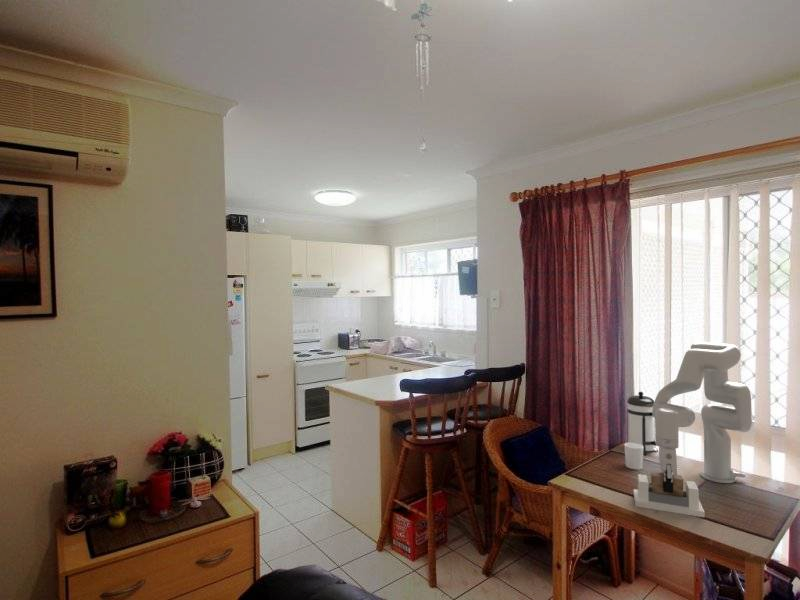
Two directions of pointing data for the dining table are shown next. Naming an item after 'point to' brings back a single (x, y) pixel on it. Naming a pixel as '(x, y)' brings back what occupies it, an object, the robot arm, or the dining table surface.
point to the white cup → (634, 455)
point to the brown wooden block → (658, 484)
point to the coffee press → (641, 422)
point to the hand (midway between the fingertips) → (667, 488)
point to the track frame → (669, 499)
